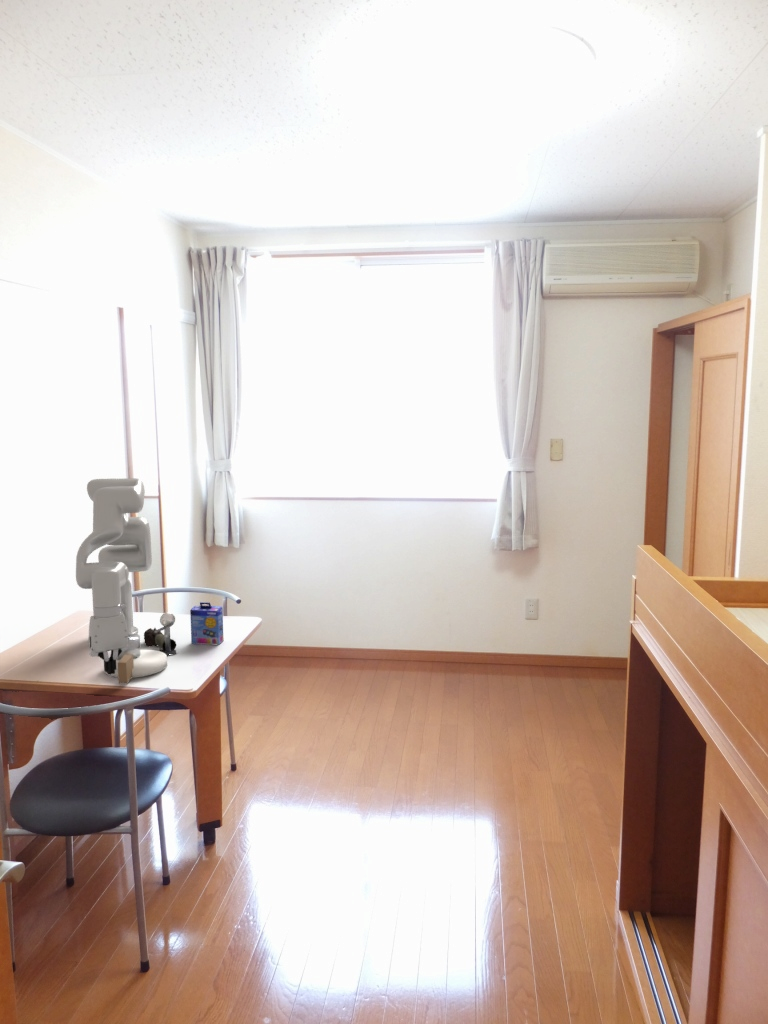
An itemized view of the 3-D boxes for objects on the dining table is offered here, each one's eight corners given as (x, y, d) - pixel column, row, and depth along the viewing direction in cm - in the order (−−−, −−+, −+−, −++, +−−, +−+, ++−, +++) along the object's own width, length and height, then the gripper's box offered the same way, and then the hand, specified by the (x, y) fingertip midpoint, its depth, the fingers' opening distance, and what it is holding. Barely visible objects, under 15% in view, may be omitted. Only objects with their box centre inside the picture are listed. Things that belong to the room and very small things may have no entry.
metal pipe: (177, 650, 243) (175, 634, 242) (156, 655, 239) (155, 638, 238) (159, 640, 257) (157, 624, 257) (139, 644, 253) (138, 628, 253)
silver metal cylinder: (110, 655, 229) (109, 636, 228) (134, 650, 234) (133, 631, 233) (120, 662, 224) (119, 642, 223) (144, 656, 229) (143, 637, 228)
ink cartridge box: (190, 644, 250) (189, 602, 248) (195, 639, 255) (194, 598, 253) (219, 645, 249) (218, 603, 247) (224, 640, 254) (222, 599, 252)
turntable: (115, 657, 235) (114, 637, 234) (173, 656, 236) (172, 637, 235) (91, 684, 212) (89, 663, 211) (154, 683, 213) (153, 662, 212)
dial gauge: (150, 655, 239) (148, 613, 237) (172, 650, 243) (170, 609, 242) (156, 659, 235) (154, 617, 233) (178, 654, 239) (177, 613, 237)
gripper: (129, 604, 217) (132, 664, 220) (76, 612, 209) (79, 674, 211) (138, 609, 211) (140, 671, 214) (83, 618, 203) (87, 682, 205)
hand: (110, 672), depth 212 cm, fingers closed
